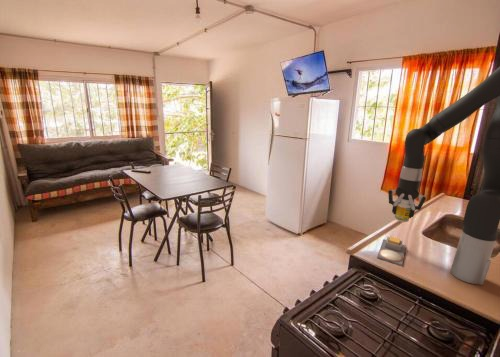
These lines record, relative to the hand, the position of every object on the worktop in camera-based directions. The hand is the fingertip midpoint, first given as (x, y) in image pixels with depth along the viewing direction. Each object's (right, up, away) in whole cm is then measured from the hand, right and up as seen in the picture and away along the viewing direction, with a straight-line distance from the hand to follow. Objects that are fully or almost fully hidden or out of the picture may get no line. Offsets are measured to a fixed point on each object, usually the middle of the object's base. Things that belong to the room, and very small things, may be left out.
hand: (402, 215), depth 111 cm
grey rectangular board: (-5, -16, 0) cm, 16 cm away
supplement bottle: (0, -2, +1) cm, 2 cm away
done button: (-2, -13, +3) cm, 13 cm away
